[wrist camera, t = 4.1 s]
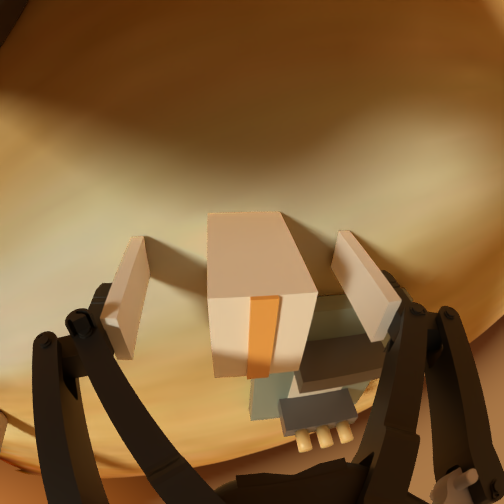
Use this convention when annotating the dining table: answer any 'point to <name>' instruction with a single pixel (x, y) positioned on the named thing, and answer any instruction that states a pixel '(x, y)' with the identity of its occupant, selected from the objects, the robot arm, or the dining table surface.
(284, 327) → the plug
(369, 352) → the header board
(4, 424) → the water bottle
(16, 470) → the dining table surface
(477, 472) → the robot arm
